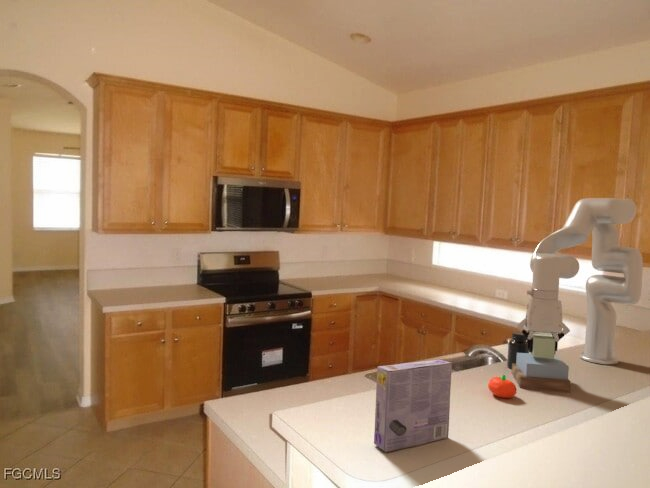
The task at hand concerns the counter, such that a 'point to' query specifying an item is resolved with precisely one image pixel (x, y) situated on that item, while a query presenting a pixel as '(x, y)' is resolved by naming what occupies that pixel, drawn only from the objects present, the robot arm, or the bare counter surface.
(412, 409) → the cake pan box
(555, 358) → the slate top block
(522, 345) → the supplement bottle
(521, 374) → the walnut base block
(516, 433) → the counter surface
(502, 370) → the counter surface
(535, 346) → the sage block
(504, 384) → the pumpkin
